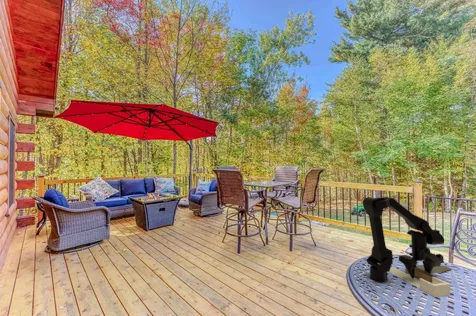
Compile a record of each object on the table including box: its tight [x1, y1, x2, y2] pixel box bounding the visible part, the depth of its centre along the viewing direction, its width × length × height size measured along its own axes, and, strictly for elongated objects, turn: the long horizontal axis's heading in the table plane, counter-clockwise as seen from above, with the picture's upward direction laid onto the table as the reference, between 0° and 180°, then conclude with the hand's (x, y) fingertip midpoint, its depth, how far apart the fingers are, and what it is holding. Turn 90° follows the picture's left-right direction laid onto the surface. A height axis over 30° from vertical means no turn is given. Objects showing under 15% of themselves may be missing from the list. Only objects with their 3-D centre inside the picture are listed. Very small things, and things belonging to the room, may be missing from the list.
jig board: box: [388, 266, 448, 297], centre depth 100 cm, size 7×26×1 cm, turn 11°
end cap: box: [418, 276, 451, 298], centre depth 91 cm, size 8×6×4 cm
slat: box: [404, 266, 438, 283], centre depth 102 cm, size 4×12×4 cm, turn 6°
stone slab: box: [416, 264, 452, 275], centre depth 112 cm, size 22×3×10 cm
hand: (420, 277), depth 102 cm, fingers open, 9 cm apart
